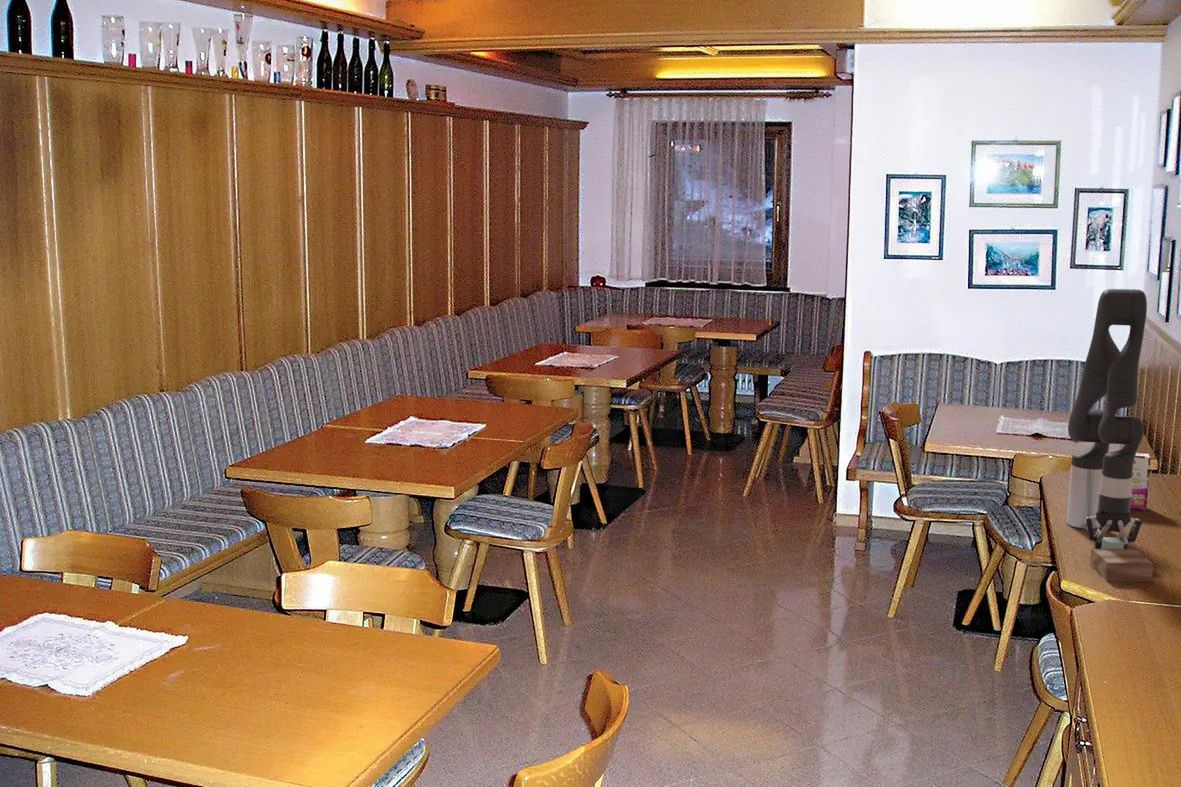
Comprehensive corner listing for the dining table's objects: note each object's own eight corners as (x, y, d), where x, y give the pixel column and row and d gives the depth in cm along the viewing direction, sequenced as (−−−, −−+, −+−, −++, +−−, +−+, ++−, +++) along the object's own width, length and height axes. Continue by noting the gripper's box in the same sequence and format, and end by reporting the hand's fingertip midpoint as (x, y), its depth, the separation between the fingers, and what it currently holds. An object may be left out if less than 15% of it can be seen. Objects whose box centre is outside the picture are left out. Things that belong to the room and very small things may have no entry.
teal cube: (1096, 555, 314) (1098, 536, 313) (1116, 556, 313) (1118, 537, 312) (1101, 561, 309) (1103, 542, 308) (1122, 562, 308) (1124, 543, 307)
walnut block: (1089, 567, 305) (1091, 548, 304) (1134, 568, 304) (1135, 549, 303) (1105, 582, 294) (1107, 562, 293) (1151, 583, 294) (1153, 563, 293)
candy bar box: (1145, 506, 358) (1150, 453, 355) (1146, 511, 354) (1151, 457, 350) (1104, 502, 362) (1109, 449, 359) (1105, 507, 358) (1109, 453, 355)
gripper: (1140, 490, 310) (1134, 553, 313) (1082, 487, 312) (1076, 550, 315) (1149, 498, 303) (1143, 562, 306) (1089, 495, 305) (1084, 559, 308)
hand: (1109, 556), depth 311 cm, fingers closed on teal cube, 5 cm apart
